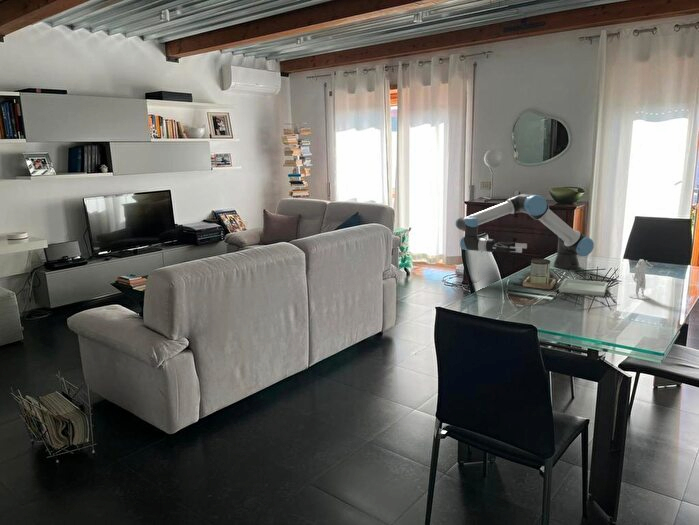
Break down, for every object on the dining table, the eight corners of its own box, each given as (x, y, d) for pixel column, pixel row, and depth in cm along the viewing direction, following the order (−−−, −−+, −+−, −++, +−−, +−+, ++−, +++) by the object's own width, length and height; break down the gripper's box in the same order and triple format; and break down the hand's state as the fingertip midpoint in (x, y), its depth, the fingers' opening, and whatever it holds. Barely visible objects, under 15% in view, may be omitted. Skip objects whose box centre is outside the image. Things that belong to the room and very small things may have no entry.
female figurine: (621, 299, 267) (625, 261, 263) (628, 292, 279) (632, 255, 275) (645, 303, 261) (649, 264, 256) (652, 296, 273) (656, 258, 268)
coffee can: (527, 282, 304) (529, 258, 301) (546, 282, 303) (547, 258, 300) (532, 287, 294) (533, 262, 291) (551, 287, 293) (552, 262, 290)
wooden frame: (528, 280, 309) (528, 276, 308) (555, 283, 301) (555, 278, 301) (522, 286, 296) (523, 282, 295) (550, 289, 289) (551, 285, 288)
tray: (564, 282, 302) (565, 278, 302) (607, 286, 292) (607, 282, 291) (558, 291, 284) (559, 287, 283) (603, 296, 273) (604, 292, 272)
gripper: (492, 247, 320) (528, 250, 310) (481, 255, 299) (519, 258, 289) (492, 235, 319) (529, 238, 309) (481, 242, 297) (520, 245, 287)
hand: (524, 248), depth 299 cm, fingers open, 13 cm apart
